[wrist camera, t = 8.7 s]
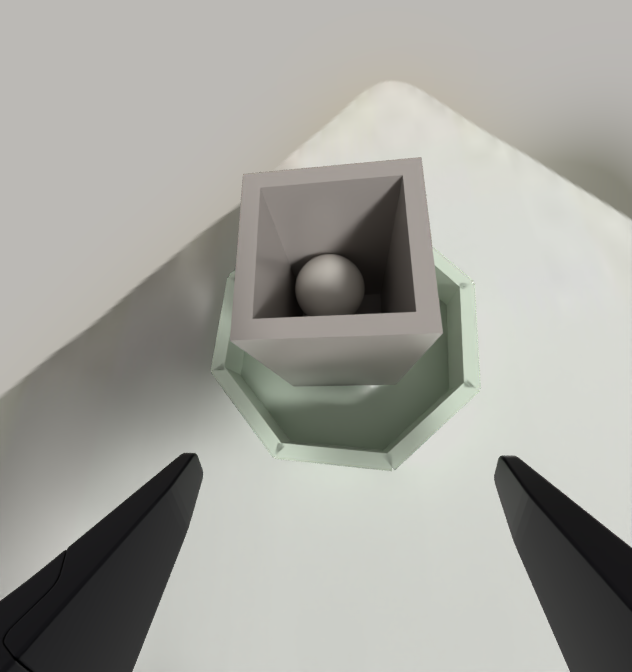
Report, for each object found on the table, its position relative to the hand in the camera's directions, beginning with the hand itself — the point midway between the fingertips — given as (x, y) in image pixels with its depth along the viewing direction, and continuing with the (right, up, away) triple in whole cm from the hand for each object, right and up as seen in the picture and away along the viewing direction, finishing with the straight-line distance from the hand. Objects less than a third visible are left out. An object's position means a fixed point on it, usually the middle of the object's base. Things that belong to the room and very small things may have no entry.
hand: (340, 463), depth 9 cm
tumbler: (+1, +4, +9) cm, 10 cm away
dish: (+1, +3, +9) cm, 10 cm away
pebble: (0, +6, +4) cm, 7 cm away
